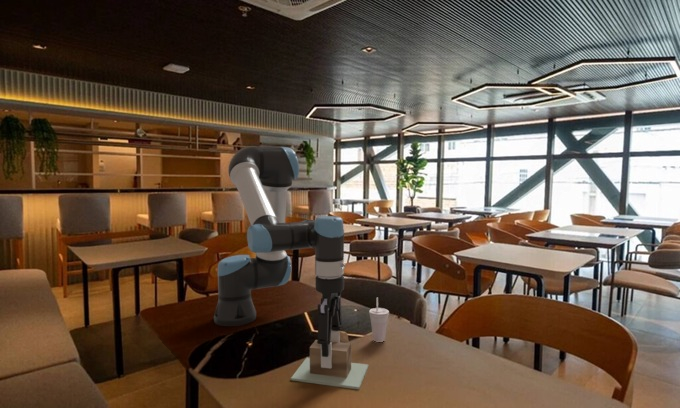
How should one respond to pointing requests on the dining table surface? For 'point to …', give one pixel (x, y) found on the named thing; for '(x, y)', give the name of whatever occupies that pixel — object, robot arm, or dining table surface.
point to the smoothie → (378, 322)
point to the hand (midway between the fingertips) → (330, 360)
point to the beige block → (339, 360)
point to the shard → (343, 337)
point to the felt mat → (351, 381)
